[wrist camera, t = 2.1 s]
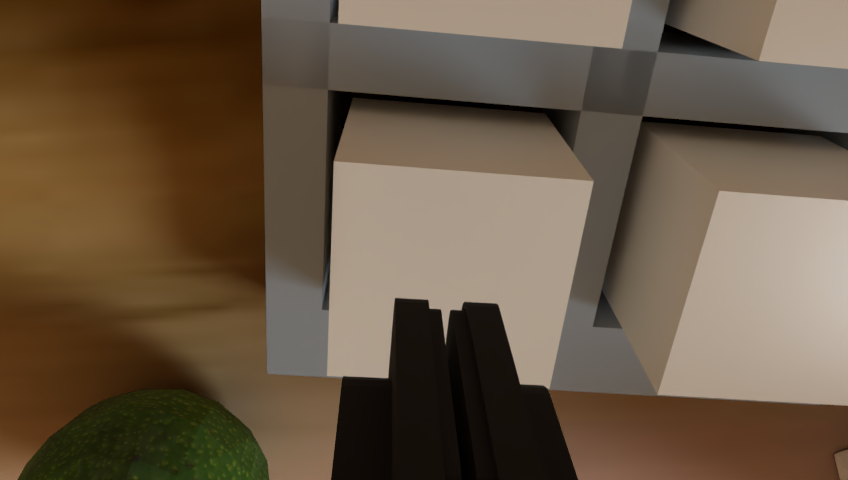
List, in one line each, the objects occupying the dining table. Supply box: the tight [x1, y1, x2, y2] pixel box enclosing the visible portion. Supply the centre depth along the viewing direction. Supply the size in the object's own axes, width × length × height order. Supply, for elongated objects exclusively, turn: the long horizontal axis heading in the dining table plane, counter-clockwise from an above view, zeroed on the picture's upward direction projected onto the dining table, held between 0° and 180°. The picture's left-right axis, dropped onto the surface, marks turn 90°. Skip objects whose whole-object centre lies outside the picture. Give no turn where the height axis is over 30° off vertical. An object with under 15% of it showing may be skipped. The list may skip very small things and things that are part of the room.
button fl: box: [327, 97, 594, 389], centre depth 16 cm, size 5×5×5 cm
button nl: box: [602, 121, 848, 406], centre depth 16 cm, size 5×5×5 cm
